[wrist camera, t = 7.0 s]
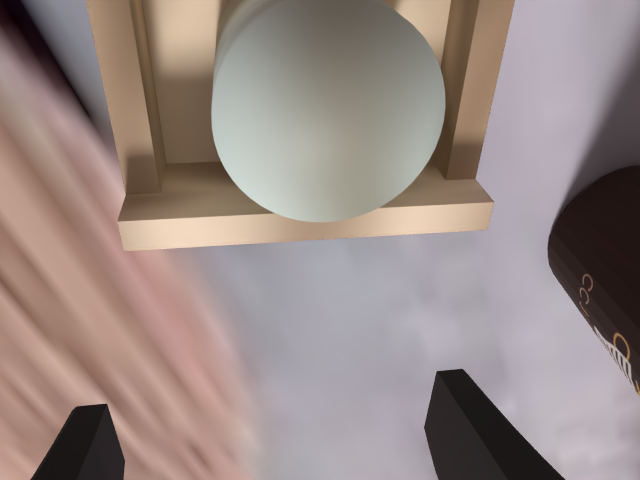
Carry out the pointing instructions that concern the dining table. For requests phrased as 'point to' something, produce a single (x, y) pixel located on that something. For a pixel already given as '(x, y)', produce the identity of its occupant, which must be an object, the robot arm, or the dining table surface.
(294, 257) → the dining table surface
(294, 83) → the rack
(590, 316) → the coffee mug
